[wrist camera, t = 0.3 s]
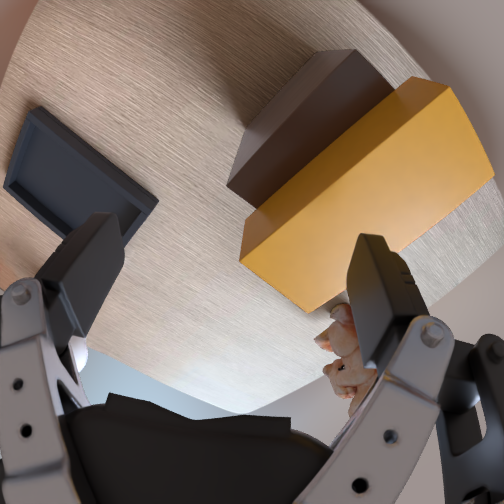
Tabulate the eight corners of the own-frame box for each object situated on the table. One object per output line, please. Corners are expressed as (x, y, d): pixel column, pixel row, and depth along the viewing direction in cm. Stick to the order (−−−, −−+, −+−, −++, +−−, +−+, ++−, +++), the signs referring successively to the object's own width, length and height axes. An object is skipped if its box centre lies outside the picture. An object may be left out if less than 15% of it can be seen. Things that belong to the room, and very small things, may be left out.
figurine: (307, 314, 37) (314, 430, 25) (363, 286, 34) (392, 404, 22) (330, 339, 40) (341, 443, 28) (381, 315, 37) (408, 421, 25)
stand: (245, 129, 25) (225, 186, 15) (317, 51, 20) (355, 48, 11) (322, 192, 28) (348, 280, 18) (392, 126, 23) (463, 181, 14)
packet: (411, 75, 11) (449, 85, 8) (458, 147, 13) (495, 175, 10) (244, 219, 16) (238, 261, 13) (303, 268, 18) (308, 314, 15)
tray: (41, 105, 23) (28, 110, 21) (159, 200, 29) (152, 210, 27) (13, 179, 28) (2, 187, 26) (113, 261, 34) (106, 272, 32)
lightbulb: (101, 298, 38) (68, 364, 29) (109, 328, 42) (83, 390, 33) (63, 289, 38) (28, 349, 29) (74, 319, 41) (45, 376, 33)
